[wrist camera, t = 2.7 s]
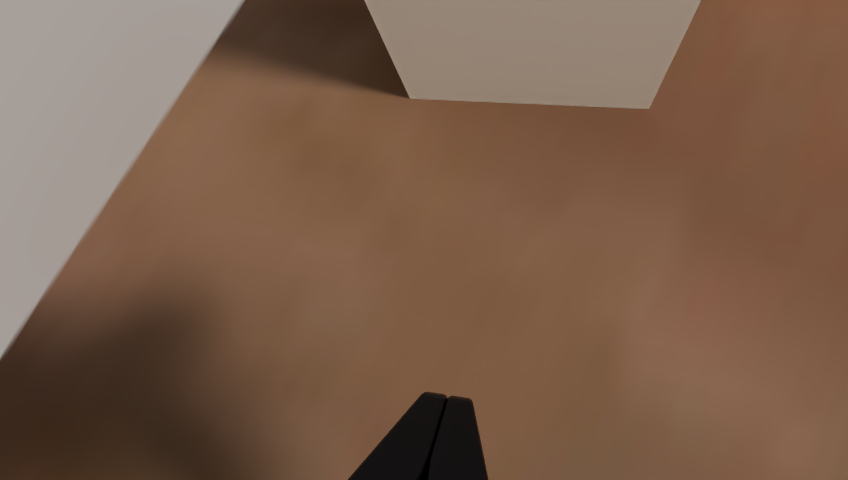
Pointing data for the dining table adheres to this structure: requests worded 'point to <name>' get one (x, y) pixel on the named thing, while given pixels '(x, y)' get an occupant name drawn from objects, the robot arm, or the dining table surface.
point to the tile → (533, 49)
